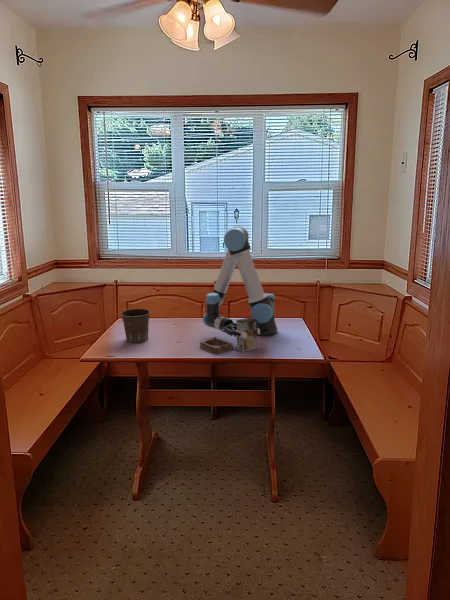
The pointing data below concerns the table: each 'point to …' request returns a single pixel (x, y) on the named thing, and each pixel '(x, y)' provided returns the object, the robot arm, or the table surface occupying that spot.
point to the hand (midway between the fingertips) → (252, 333)
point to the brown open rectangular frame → (222, 344)
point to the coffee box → (247, 334)
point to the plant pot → (136, 324)
